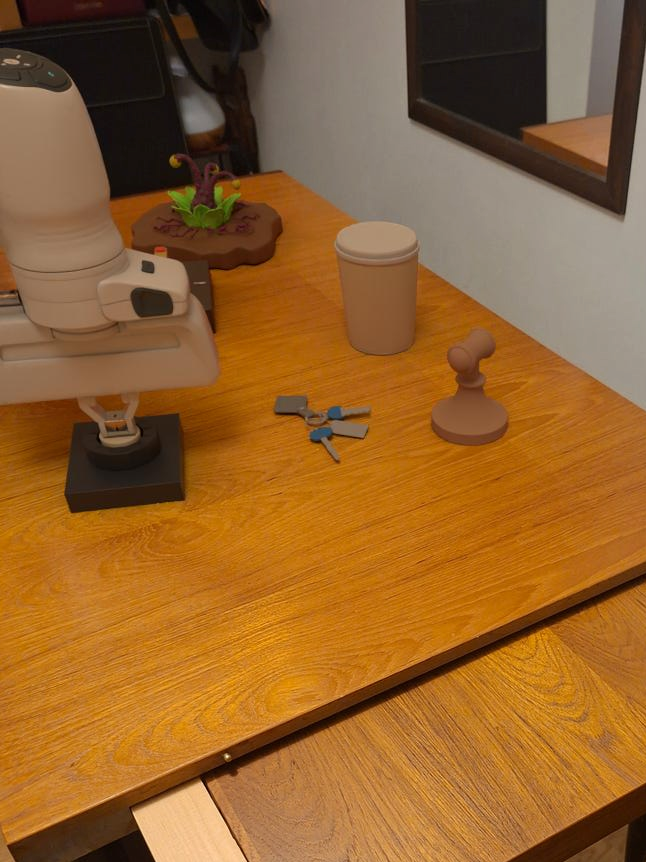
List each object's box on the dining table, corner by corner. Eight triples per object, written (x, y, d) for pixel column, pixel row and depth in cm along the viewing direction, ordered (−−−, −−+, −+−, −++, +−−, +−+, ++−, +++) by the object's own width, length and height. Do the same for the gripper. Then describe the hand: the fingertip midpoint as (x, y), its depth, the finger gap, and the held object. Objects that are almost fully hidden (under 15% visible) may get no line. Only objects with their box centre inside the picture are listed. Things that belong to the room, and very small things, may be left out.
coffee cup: (434, 332, 108) (434, 230, 100) (397, 366, 102) (393, 260, 94) (367, 315, 111) (361, 214, 102) (327, 347, 105) (317, 242, 96)
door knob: (527, 330, 88) (487, 363, 83) (521, 418, 95) (483, 453, 90) (458, 309, 91) (414, 340, 86) (456, 396, 98) (416, 430, 93)
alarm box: (71, 514, 81) (57, 477, 78) (79, 442, 89) (67, 406, 86) (184, 501, 83) (176, 464, 80) (183, 431, 91) (175, 396, 88)
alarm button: (103, 461, 83) (98, 445, 82) (104, 440, 85) (100, 424, 84) (143, 457, 84) (139, 441, 82) (144, 436, 86) (140, 420, 85)
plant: (156, 211, 132) (138, 127, 124) (289, 216, 132) (280, 132, 125) (117, 267, 118) (94, 176, 110) (266, 273, 118) (253, 182, 110)
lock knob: (172, 294, 106) (165, 262, 104) (160, 295, 106) (153, 263, 103) (172, 276, 110) (166, 245, 107) (160, 277, 109) (154, 246, 107)
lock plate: (127, 340, 104) (121, 314, 102) (131, 288, 114) (125, 263, 112) (216, 333, 106) (211, 307, 104) (212, 283, 116) (207, 258, 114)
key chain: (262, 405, 95) (261, 398, 94) (328, 381, 99) (327, 374, 98) (336, 465, 88) (335, 458, 87) (404, 437, 92) (403, 430, 91)
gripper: (-68, 313, 69) (-5, 464, 79) (204, 293, 73) (232, 439, 83) (-55, 278, 74) (4, 426, 83) (202, 261, 77) (229, 404, 87)
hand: (119, 432), depth 83 cm, fingers closed, pressing on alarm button
